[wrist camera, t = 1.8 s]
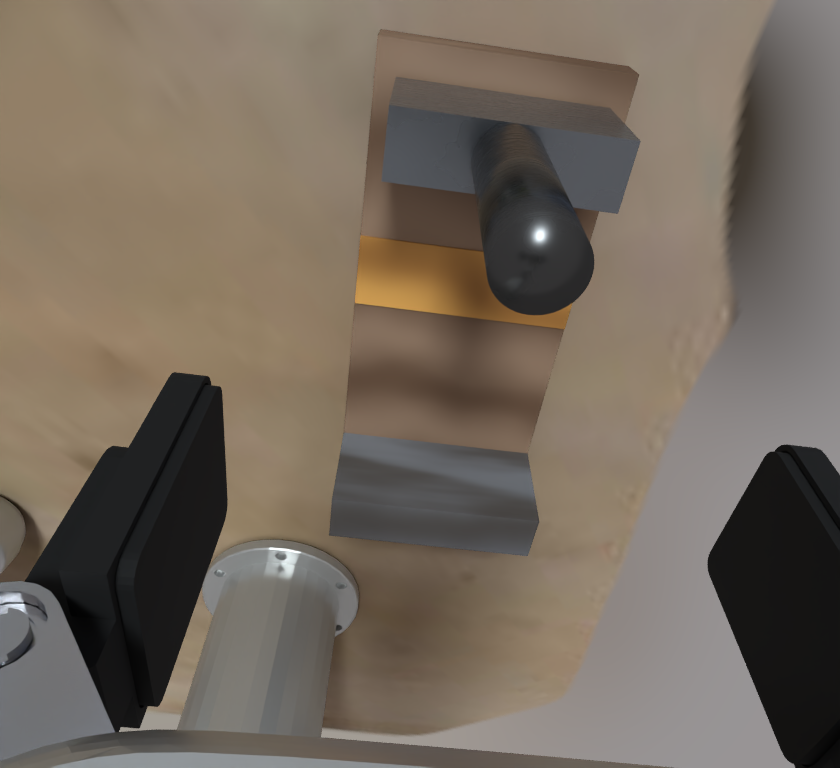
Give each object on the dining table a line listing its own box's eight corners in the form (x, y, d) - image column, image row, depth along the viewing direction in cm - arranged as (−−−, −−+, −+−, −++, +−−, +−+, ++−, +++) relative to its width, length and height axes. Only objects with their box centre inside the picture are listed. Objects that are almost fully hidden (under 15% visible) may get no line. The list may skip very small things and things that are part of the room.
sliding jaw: (592, 172, 33) (693, 335, 20) (388, 143, 32) (358, 293, 19) (610, 107, 31) (732, 241, 18) (396, 76, 30) (367, 192, 18)
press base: (514, 466, 47) (527, 556, 40) (344, 447, 46) (329, 535, 40) (628, 66, 32) (678, 104, 26) (380, 29, 31) (366, 58, 25)
